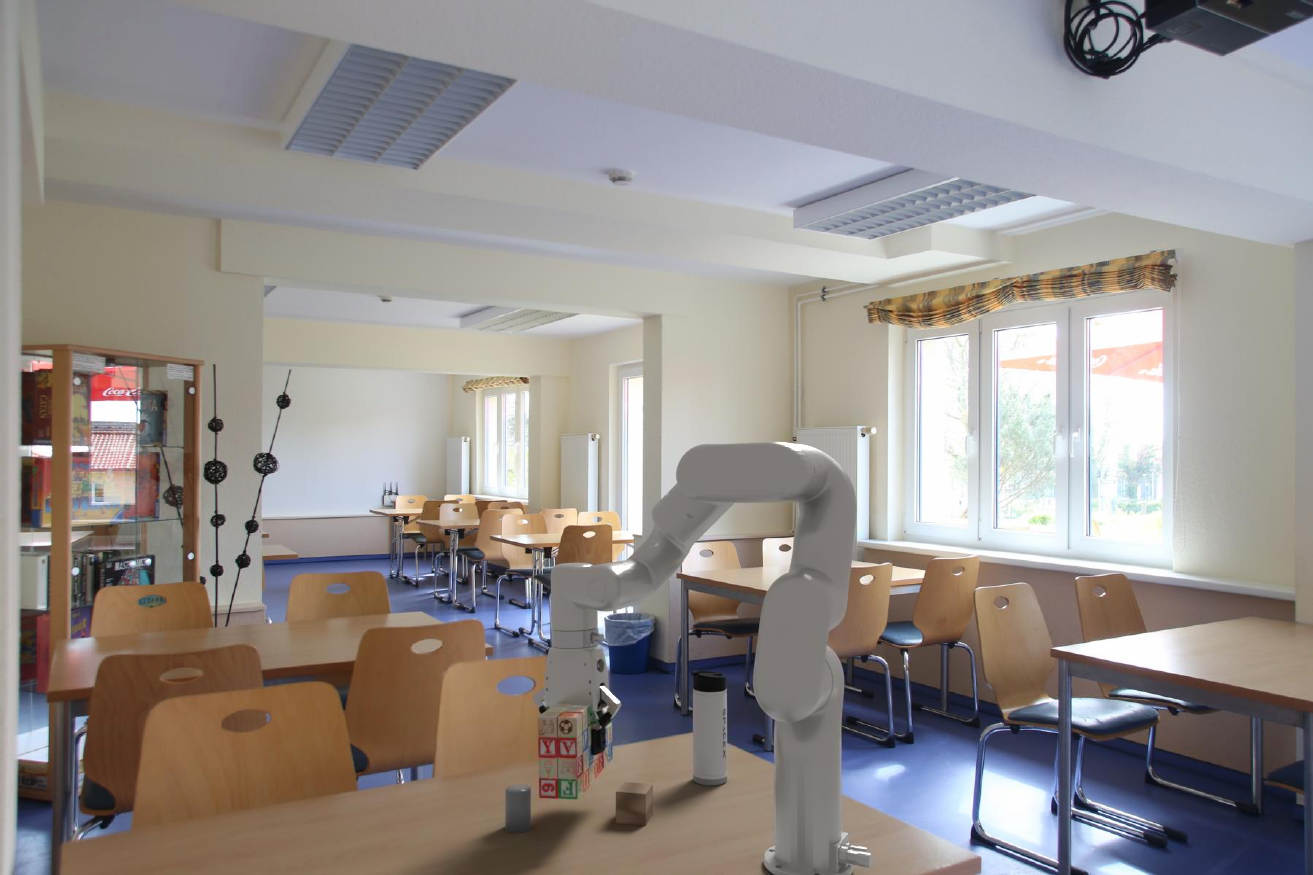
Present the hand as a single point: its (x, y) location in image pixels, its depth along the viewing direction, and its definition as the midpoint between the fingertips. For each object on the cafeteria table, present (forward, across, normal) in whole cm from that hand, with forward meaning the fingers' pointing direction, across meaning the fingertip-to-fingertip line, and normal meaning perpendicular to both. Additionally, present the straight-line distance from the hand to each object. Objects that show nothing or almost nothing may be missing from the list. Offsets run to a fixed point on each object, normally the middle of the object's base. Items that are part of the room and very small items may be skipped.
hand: (576, 749), depth 144 cm
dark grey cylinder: (+11, +8, +6) cm, 15 cm away
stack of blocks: (+5, 0, 0) cm, 5 cm away
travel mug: (+12, -10, -29) cm, 33 cm away
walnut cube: (+12, -7, -6) cm, 15 cm away
